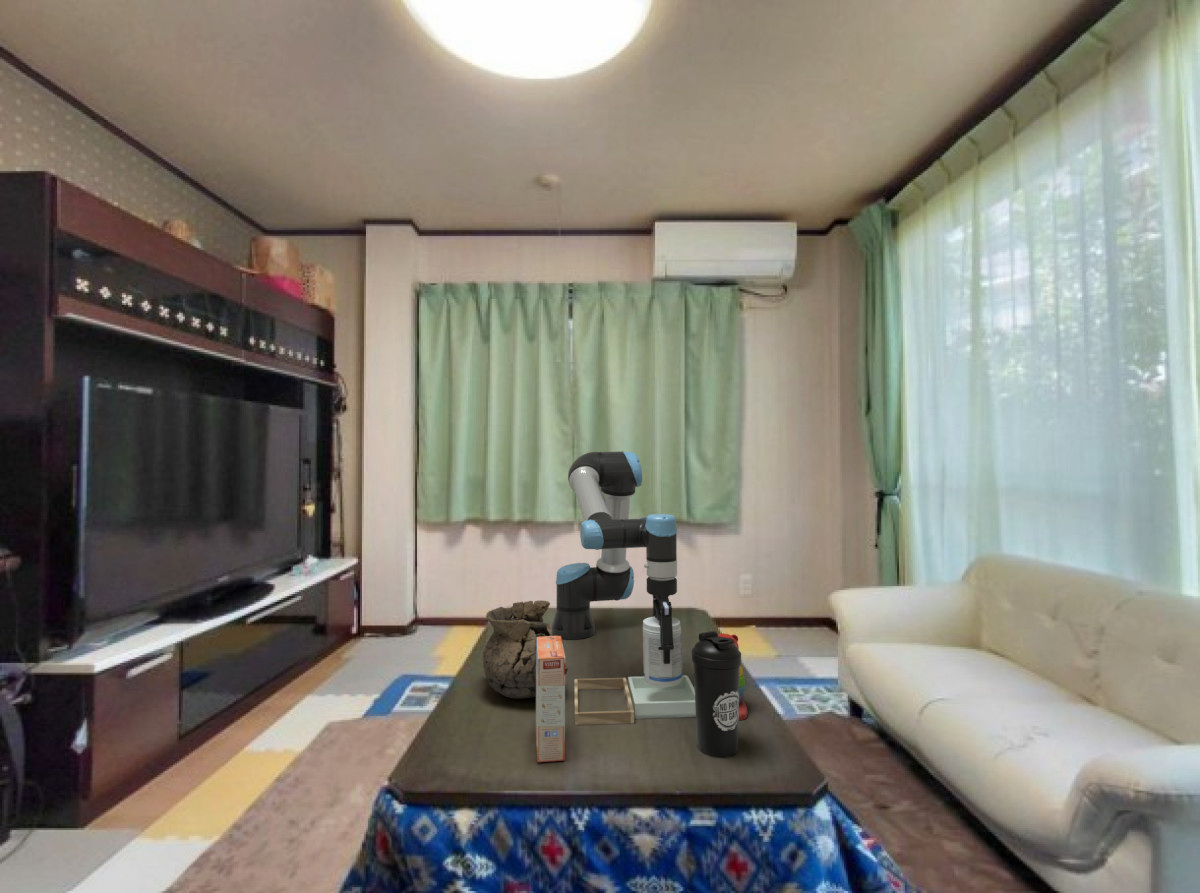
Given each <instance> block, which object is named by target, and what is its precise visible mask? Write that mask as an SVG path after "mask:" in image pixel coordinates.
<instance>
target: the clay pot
mask: <svg viewBox="0 0 1200 893" xmlns="http://www.w3.org/2000/svg"><path fill="white" fill-rule="evenodd" d="M550 605H551V602H550V601H549V600H543V599H542V600H541V599H540V600H535V601H533V600H528V601H519V602H517V601H516V602H513V603H512V606H511V607H510V609H507V608H505V607H504V606H499V607H497V608H493V609H491V610H489V611H488V612H487V613H486V615H485V617H486V619H487V621H488V622H489V623H490V624H491V626H492V629H493V631H492V632H493V633H491V635H490V637H489V639H488V641H487V643H486V644H485V648H484V650H483V652H482V662H483V673H484V675H485V677H486V678H485V680H486V682H487V683H488V685H489V686H490V687H491V688H492V689H493V690H494V692H496V693H499V694H501V695H502V696H504V697H507V698H510V699H514V700H520V699H521V700H522V699H530V698H536V640H537V637H544V636H553V635H552V626H551V625H550V624H549V623H548V622H544V619H543V617H544V615H545V614H546V612H547V611H548V610H549V608H550ZM568 670H569V668H568V667H567V664H565V676H566V675H567V673H568Z"/></svg>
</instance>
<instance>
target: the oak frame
mask: <svg viewBox="0 0 1200 893" xmlns="http://www.w3.org/2000/svg"><path fill="white" fill-rule="evenodd" d="M573 681H574V683H573V684H574V688H573V689H574V690H573V691H574V725H575V726H585V725H586V726H587V725H615V724H617V725H618V724H621V725H623V724H635V717H634V709H633V705H632V701H631V697H630V693H629V689H628V679H627V678H626V677H607V678H605V677H603V678H599V677H598V678H574V680H573ZM616 689H617V690H620V689H621V690H623V694H624V699H625V703H626V708H627V710H606V711H604V710H603V711H602V710H601V711H579V695H578V694H579V691H582V690H583V691H585V690H586V691H587V690H588V691H589V690H616Z"/></svg>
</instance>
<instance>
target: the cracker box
mask: <svg viewBox="0 0 1200 893" xmlns="http://www.w3.org/2000/svg"><path fill="white" fill-rule="evenodd" d="M565 665H566V654H565V649H564V645H563V639H561V636H553V635H552V636H544V637H537V640H536V697H535V739H536V740H535V741H536V742H535V743H536V759H537V760H536V761H537V763H547V762H548V763H549V762H550V763H551V762H561V761H562V762H564V761H565V760H566V759H565V758H566V675H565V669H566V667H565Z"/></svg>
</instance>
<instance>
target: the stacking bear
mask: <svg viewBox="0 0 1200 893" xmlns="http://www.w3.org/2000/svg"><path fill="white" fill-rule="evenodd" d="M717 634H718V636H720V637H726V638H731V639H733V640H734V643H733V644H735V645H736V646H737V648H738V650H739V651H740V649H739V637H738V636H737V635H736V634H729V633H717ZM745 689H746V677H745V673H744V669H743V665H742V664H741V665H740V668H739V721H742V720H745V719H747V716H748V708H747V705H746V703H745V701H744V696H745V692H746V691H745Z"/></svg>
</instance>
